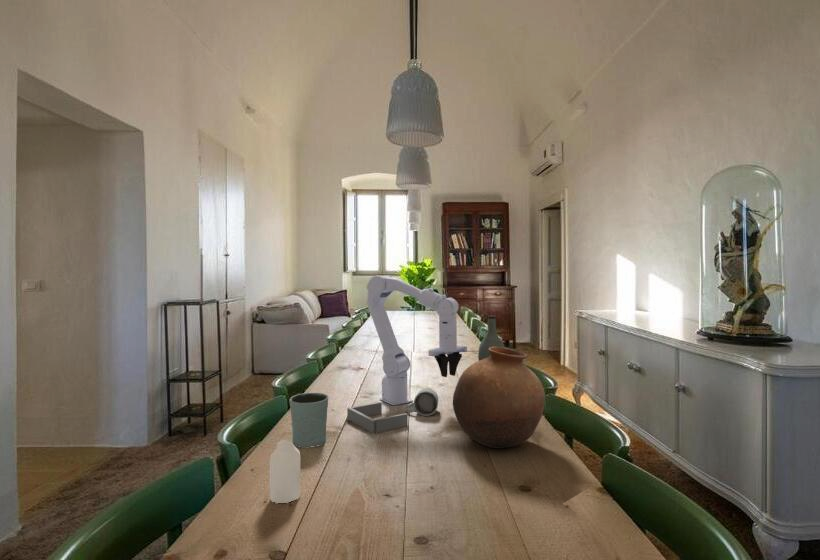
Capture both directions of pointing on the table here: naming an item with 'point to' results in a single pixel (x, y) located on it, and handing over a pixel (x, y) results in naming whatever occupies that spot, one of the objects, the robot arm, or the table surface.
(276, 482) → the white shouldered tall container
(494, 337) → the bottle
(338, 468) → the table surface
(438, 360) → the robot arm
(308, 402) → the green tapered cup
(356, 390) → the table surface
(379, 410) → the box
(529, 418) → the pottery
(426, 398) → the ceramic mug
